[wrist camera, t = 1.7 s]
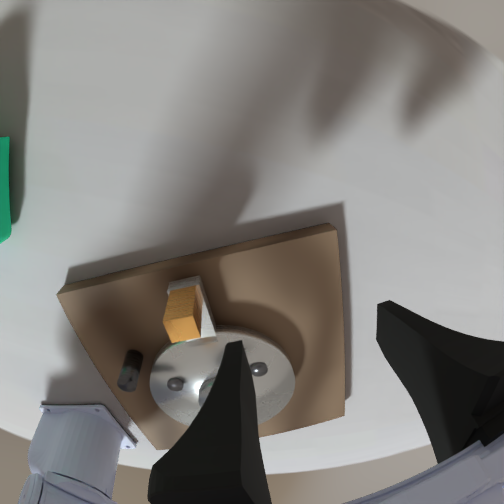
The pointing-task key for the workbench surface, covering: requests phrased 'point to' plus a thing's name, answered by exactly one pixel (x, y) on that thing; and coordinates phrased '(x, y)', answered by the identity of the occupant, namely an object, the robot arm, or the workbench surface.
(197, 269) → the fixture board
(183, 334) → the flange plate
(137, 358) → the dowel pin
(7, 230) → the camera mount
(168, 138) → the workbench surface
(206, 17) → the workbench surface
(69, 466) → the robot arm
